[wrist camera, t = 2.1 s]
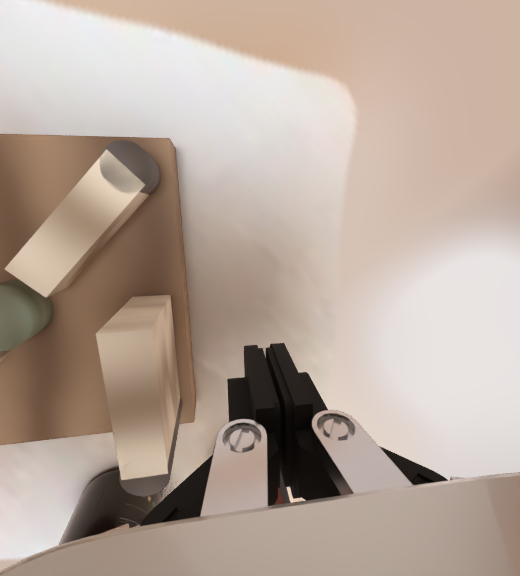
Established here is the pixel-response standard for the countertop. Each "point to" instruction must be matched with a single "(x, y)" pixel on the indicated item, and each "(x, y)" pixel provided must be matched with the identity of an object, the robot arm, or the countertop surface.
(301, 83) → the countertop surface
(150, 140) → the stool seat
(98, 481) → the supplement bottle
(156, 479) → the hinged leg
